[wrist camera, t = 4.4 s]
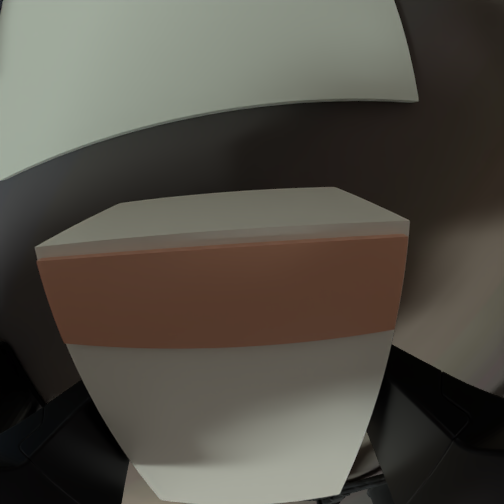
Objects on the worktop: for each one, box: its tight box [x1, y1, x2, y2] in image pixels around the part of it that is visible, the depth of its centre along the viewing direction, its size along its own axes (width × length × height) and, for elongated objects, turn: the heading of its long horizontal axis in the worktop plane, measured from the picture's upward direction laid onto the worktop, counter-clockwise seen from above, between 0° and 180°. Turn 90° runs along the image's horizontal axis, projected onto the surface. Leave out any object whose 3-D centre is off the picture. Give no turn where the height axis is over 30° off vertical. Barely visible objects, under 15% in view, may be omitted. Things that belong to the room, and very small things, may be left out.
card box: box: [34, 187, 410, 504], centre depth 7 cm, size 9×6×4 cm, turn 3°
